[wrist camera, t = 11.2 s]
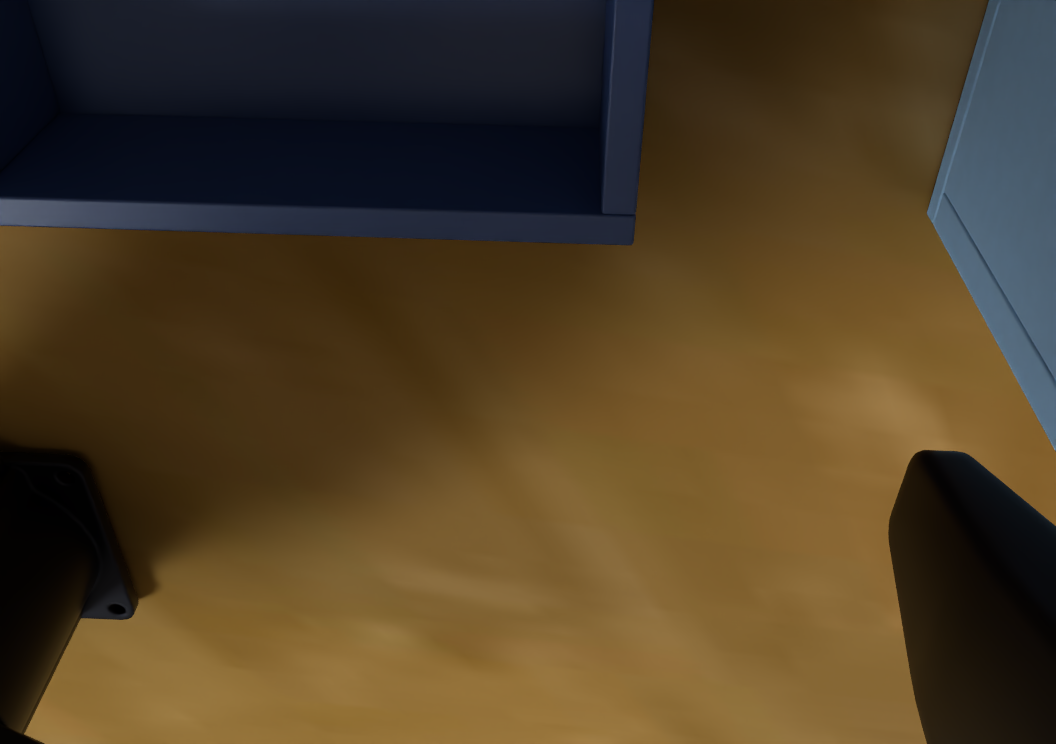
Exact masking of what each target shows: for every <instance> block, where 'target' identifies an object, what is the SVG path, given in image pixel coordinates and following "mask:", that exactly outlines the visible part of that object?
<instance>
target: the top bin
mask: <svg viewBox="0 0 1056 744" xmlns="http://www.w3.org/2000/svg"><path fill="white" fill-rule="evenodd" d="M927 215H928V216H929V218H930V220H931V222H932V223H933V224H934V227H935V229H936V231H937V233H938V235H939V236H940V238H941V240H942V242H943V244H944V246H945V248H946V249H947V251H948V253H949V255H950V257H951V259H952V261H953V262H954V264H955V266H956V268H957V270H958V272H959V273H960V275H961V277H962V279H963V281H964V283H965V285H966V286H967V288H968V290H969V292H970V294H971V296H972V298H973V299H974V301H975V303H976V305H977V307H978V309H979V310H980V312H981V314H982V316H983V318H984V320H985V322H986V323H987V325H988V327H989V329H990V331H991V333H992V335H993V336H994V338H995V340H996V342H997V344H998V346H999V347H1000V349H1001V351H1002V353H1003V355H1004V357H1005V359H1006V360H1007V362H1008V364H1009V366H1010V368H1011V370H1012V372H1013V373H1014V375H1015V377H1016V379H1017V381H1018V383H1019V385H1020V386H1021V388H1022V390H1023V392H1024V394H1025V396H1026V397H1027V399H1028V401H1029V403H1030V405H1031V407H1032V409H1033V410H1034V412H1035V414H1036V416H1037V418H1038V420H1039V422H1040V423H1041V425H1042V427H1043V429H1044V431H1045V433H1046V434H1047V436H1048V438H1049V440H1050V442H1051V444H1052V446H1053V447H1054V449H1055V451H1056V0H989V2H988V6H987V9H986V13H985V16H984V19H983V23H982V26H981V30H980V33H979V37H978V40H977V43H976V47H975V50H974V54H973V57H972V60H971V64H970V67H969V71H968V74H967V78H966V81H965V84H964V88H963V91H962V95H961V98H960V102H959V105H958V108H957V112H956V115H955V119H954V122H953V125H952V129H951V132H950V136H949V139H948V143H947V146H946V149H945V153H944V156H943V160H942V163H941V167H940V170H939V173H938V177H937V180H936V184H935V187H934V190H933V194H932V197H931V201H930V204H929V208H928V211H927Z"/></svg>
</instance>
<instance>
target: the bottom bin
mask: <svg viewBox="0 0 1056 744" xmlns="http://www.w3.org/2000/svg"><path fill="white" fill-rule="evenodd" d="M653 8H654V0H0V225H1V226H33V227H64V228H96V229H128V230H160V231H192V232H223V233H255V234H287V235H319V236H350V237H382V238H414V239H446V240H478V241H509V242H541V243H573V244H605V245H632V244H633V242H634V231H635V220H636V215H635V212H636V208H637V196H638V184H639V172H640V161H641V149H642V137H643V126H644V114H645V102H646V90H647V79H648V67H649V55H650V44H651V32H652V20H653Z"/></svg>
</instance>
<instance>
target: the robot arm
mask: <svg viewBox="0 0 1056 744" xmlns="http://www.w3.org/2000/svg"><path fill="white" fill-rule="evenodd" d="M67 472H68V473H67ZM69 473H70V474H69ZM888 533H889V546H890V552H891V558H892V564H893V570H894V576H895V582H896V589H897V595H898V601H899V607H900V613H901V619H902V625H903V631H904V638H905V644H906V650H907V656H908V662H909V668H910V674H911V679H912V685H913V690H914V695H915V700H916V704H917V708H918V712H919V716H920V720H921V724H922V728H923V731H924V735H925V738H926V742H927V744H1056V526H1055V525H1053V524H1052V523H1051V522H1050V521H1049V520H1047V519H1046V518H1045V517H1044V516H1043V515H1041V514H1040V513H1039V512H1038V511H1036V510H1035V509H1034V508H1033V507H1032V506H1030V505H1029V504H1028V503H1027V502H1026V501H1024V500H1023V499H1022V498H1021V497H1020V496H1018V495H1017V494H1016V493H1015V492H1014V491H1012V490H1011V489H1010V488H1009V487H1008V486H1006V485H1005V484H1004V483H1003V482H1002V481H1000V480H999V479H998V478H997V477H995V476H994V475H993V474H992V473H991V472H989V471H988V470H987V469H986V468H985V467H983V466H982V465H981V464H980V463H979V462H977V461H976V460H975V459H974V458H972V457H971V456H969V455H968V454H966V453H963V452H958V451H935V450H923V451H920V452H917V453H916V454H915V455H914V456H913V457H912V459H911V460H910V462H909V465H908V467H907V470H906V473H905V476H904V479H903V482H902V484H901V487H900V490H899V493H898V496H897V499H896V501H895V504H894V507H893V510H892V513H891V516H890V521H889V532H888ZM137 606H138V597H137V595H136V592H135V589H134V586H133V584H132V581H131V578H130V576H129V573H128V570H127V567H126V565H125V562H124V559H123V557H122V554H121V551H120V549H119V546H118V543H117V540H116V538H115V535H114V532H113V530H112V527H111V524H110V521H109V519H108V516H107V513H106V511H105V508H104V505H103V502H102V500H101V497H100V494H99V492H98V489H97V486H96V484H95V481H94V478H93V475H92V473H91V470H90V468H89V466H88V465H87V463H86V462H84V461H83V460H82V459H80V458H78V457H76V456H73V455H68V454H46V453H19V452H0V744H44V743H42V742H40V741H38V740H35V739H33V738H31V737H29V736H26V735H24V733H25V731H26V729H27V727H28V725H29V723H30V721H31V719H32V717H33V715H34V713H35V711H36V709H37V706H38V704H39V702H40V700H41V698H42V696H43V694H44V692H45V690H46V688H47V686H48V684H49V682H50V680H51V678H52V676H53V674H54V672H55V670H56V668H57V666H58V663H59V661H60V659H61V657H62V655H63V653H64V651H65V649H66V647H67V645H68V643H69V641H70V639H71V637H72V635H73V633H74V631H75V629H76V627H77V625H78V623H79V620H80V618H94V619H117V620H124V619H129V618H131V617H132V616H133V614H134V612H135V610H136V608H137Z"/></svg>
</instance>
